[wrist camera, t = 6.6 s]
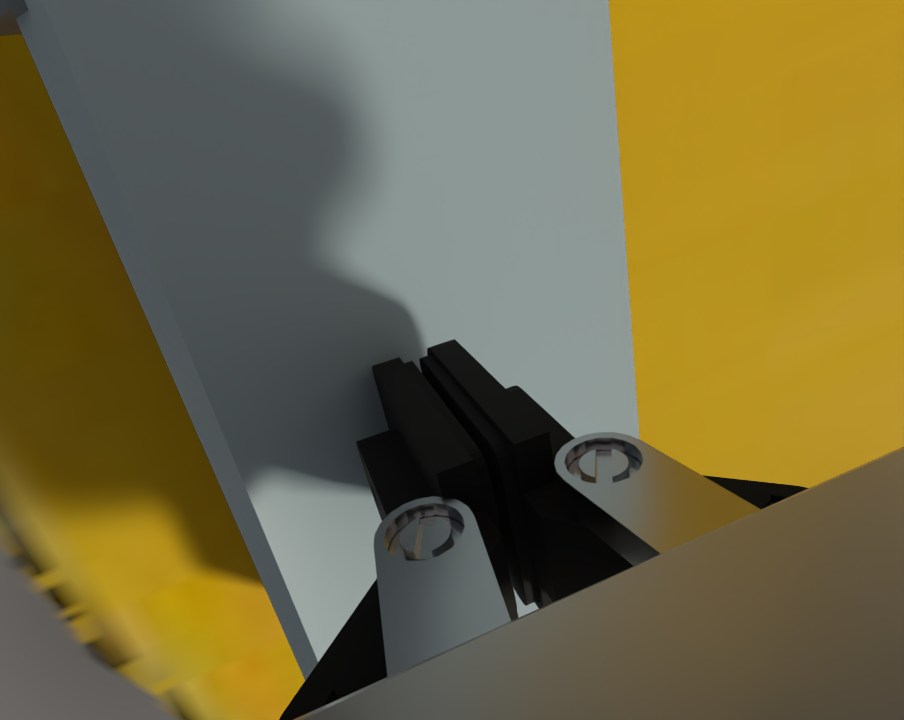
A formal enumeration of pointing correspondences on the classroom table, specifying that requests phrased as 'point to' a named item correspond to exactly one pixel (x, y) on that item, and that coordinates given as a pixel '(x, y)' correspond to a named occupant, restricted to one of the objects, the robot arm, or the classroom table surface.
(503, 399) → the robot arm
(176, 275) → the grey flat panel
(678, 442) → the classroom table surface
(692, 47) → the classroom table surface
